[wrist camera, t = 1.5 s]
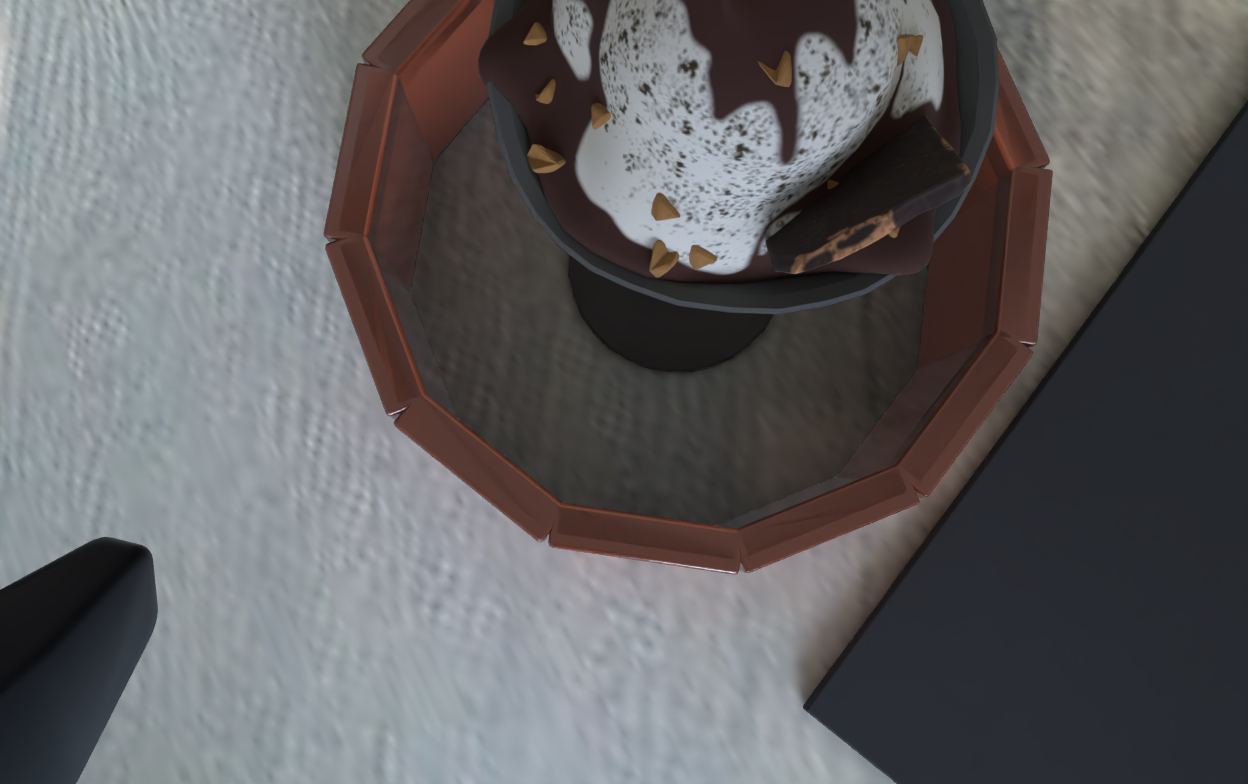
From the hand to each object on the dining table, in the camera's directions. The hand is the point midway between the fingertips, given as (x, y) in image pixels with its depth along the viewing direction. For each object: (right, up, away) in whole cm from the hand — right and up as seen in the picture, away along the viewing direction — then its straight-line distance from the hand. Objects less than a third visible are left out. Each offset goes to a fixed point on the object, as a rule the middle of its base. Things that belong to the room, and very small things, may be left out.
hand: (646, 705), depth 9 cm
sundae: (+1, +6, +14) cm, 15 cm away
